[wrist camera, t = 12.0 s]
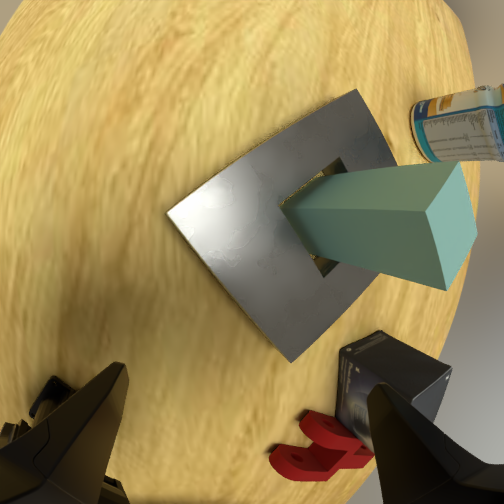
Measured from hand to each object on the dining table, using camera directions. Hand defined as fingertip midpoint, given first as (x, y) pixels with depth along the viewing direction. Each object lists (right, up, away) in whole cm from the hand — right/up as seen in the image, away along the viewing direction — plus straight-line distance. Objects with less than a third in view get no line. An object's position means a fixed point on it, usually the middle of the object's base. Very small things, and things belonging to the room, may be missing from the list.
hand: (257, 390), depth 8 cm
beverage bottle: (+22, +20, +19) cm, 35 cm away
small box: (+12, -10, +19) cm, 24 cm away
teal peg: (+5, +8, +14) cm, 16 cm away
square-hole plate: (+5, +8, +14) cm, 16 cm away
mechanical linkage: (+9, -19, +20) cm, 29 cm away
